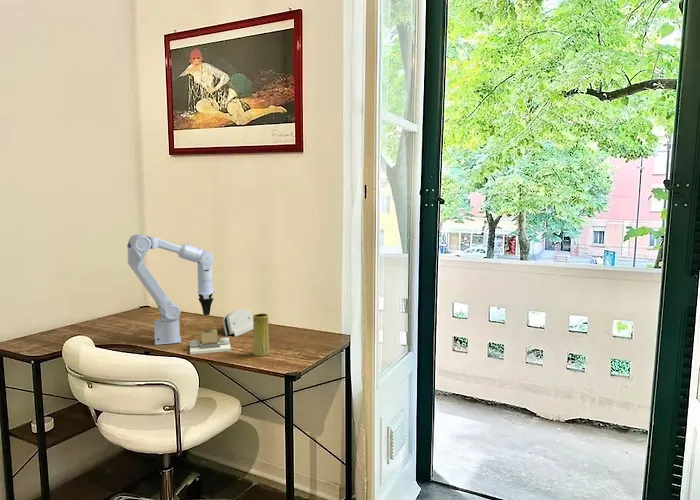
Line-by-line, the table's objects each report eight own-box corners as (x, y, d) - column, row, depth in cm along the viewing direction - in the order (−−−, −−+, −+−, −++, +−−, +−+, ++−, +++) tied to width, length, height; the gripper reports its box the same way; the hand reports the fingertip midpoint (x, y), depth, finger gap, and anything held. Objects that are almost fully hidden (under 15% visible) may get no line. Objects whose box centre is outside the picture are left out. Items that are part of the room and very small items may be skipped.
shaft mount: (190, 354, 179) (189, 345, 179) (190, 345, 190) (189, 336, 190) (231, 350, 183) (230, 341, 183) (228, 341, 195) (228, 333, 194)
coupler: (217, 343, 189) (216, 329, 189) (217, 346, 186) (217, 331, 185) (202, 344, 188) (201, 330, 187) (202, 347, 184) (201, 333, 183)
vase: (270, 351, 183) (270, 313, 181) (268, 356, 177) (268, 317, 175) (254, 351, 183) (253, 313, 181) (251, 356, 177) (250, 317, 175)
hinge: (235, 336, 202) (227, 313, 202) (226, 339, 204) (219, 316, 204) (258, 326, 217) (251, 305, 217) (250, 329, 219) (243, 307, 219)
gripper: (216, 282, 196) (217, 316, 197) (214, 276, 209) (215, 308, 211) (197, 283, 193) (198, 317, 195) (197, 277, 207) (198, 309, 209)
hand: (206, 313), depth 203 cm, fingers open, 7 cm apart
